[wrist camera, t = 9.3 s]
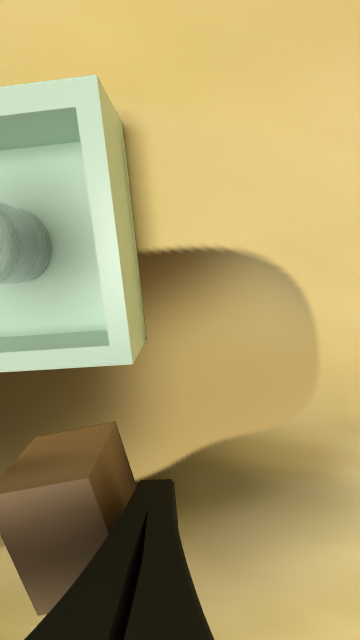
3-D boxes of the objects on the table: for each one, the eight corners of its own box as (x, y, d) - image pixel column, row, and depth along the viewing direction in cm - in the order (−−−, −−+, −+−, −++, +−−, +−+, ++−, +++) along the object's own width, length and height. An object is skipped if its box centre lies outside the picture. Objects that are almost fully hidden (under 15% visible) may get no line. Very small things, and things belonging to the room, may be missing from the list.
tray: (146, 339, 11) (132, 364, 8) (-36, 351, 11) (-101, 378, 9) (122, 123, 9) (96, 74, 7) (-88, 148, 9) (-186, 110, 7)
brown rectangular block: (147, 520, 12) (133, 602, 9) (73, 532, 13) (37, 615, 10) (115, 421, 11) (88, 478, 8) (35, 437, 12) (-18, 497, 9)
